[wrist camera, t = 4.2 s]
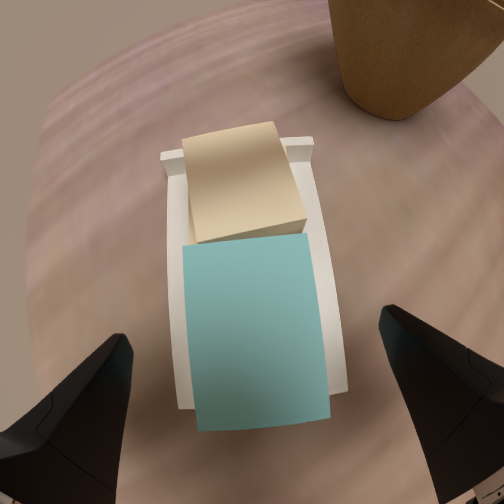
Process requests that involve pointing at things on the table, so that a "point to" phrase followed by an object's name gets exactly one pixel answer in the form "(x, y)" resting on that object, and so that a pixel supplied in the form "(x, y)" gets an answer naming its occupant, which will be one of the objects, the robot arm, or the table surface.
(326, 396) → the teal rectangular block
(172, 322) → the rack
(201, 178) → the offcut upper
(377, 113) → the plant pot
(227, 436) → the table surface
